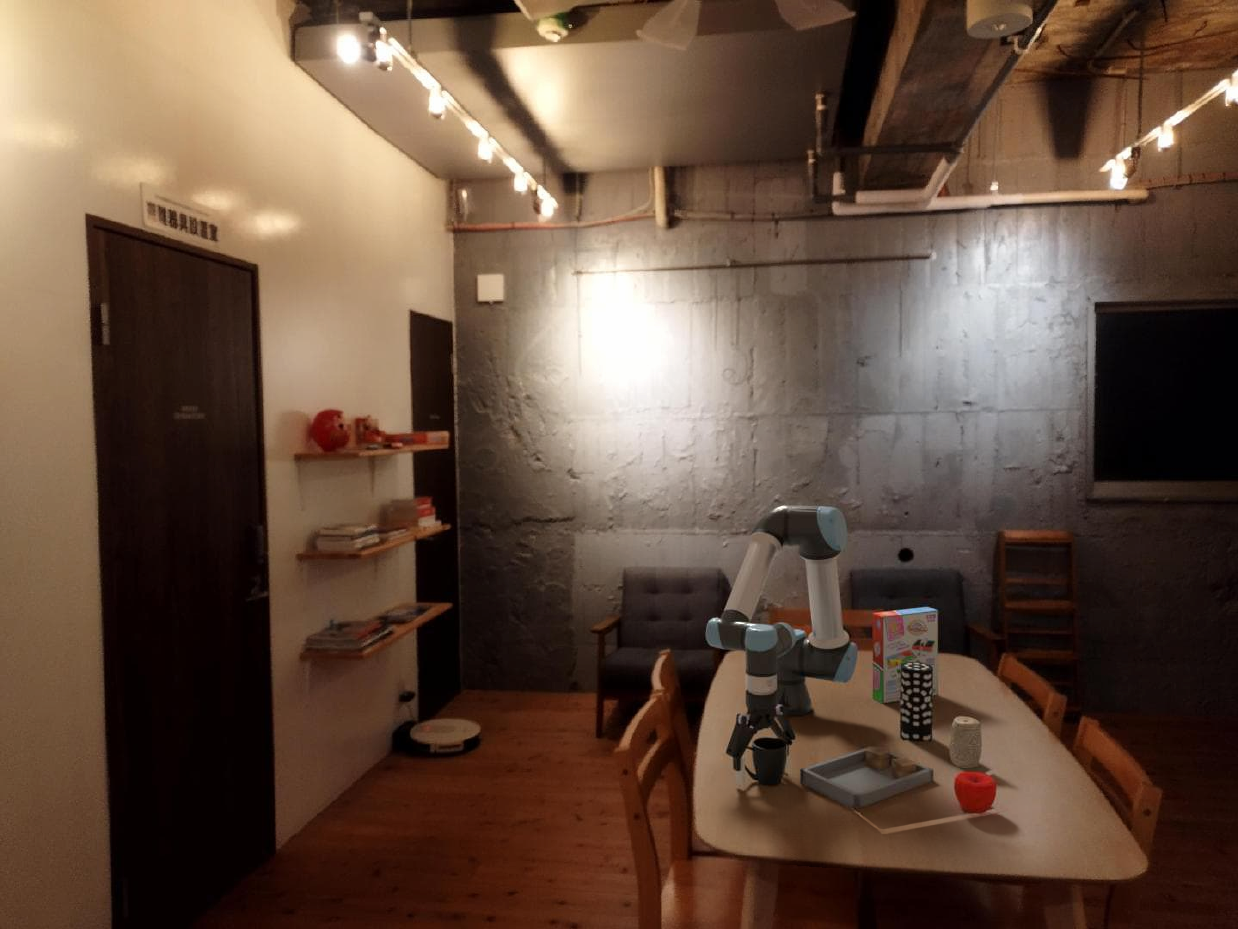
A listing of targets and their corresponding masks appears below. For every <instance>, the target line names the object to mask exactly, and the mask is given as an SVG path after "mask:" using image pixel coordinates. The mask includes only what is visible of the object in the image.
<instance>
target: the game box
mask: <svg viewBox="0 0 1238 929" xmlns="http://www.w3.org/2000/svg"><path fill="white" fill-rule="evenodd" d="M938 638H939V610H938V609H936V608H932V607H929V606H923V607H915V608H906V609H896V610H888V611H878V612H873V613H872V699H873V700H875V701H876V702H879V703H881V704H888V703H894V702H900V665H901V664H902V663H905V662H921V663H926V664H929V665H931V666H932V667H933V697H934V696H939V674H938V673H939V660H938V659H939V658H938V656H939V654H938V653H939V648H938V647H939V645H938V644H939V643H938V642H939V641H938V640H939V639H938Z"/></svg>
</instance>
